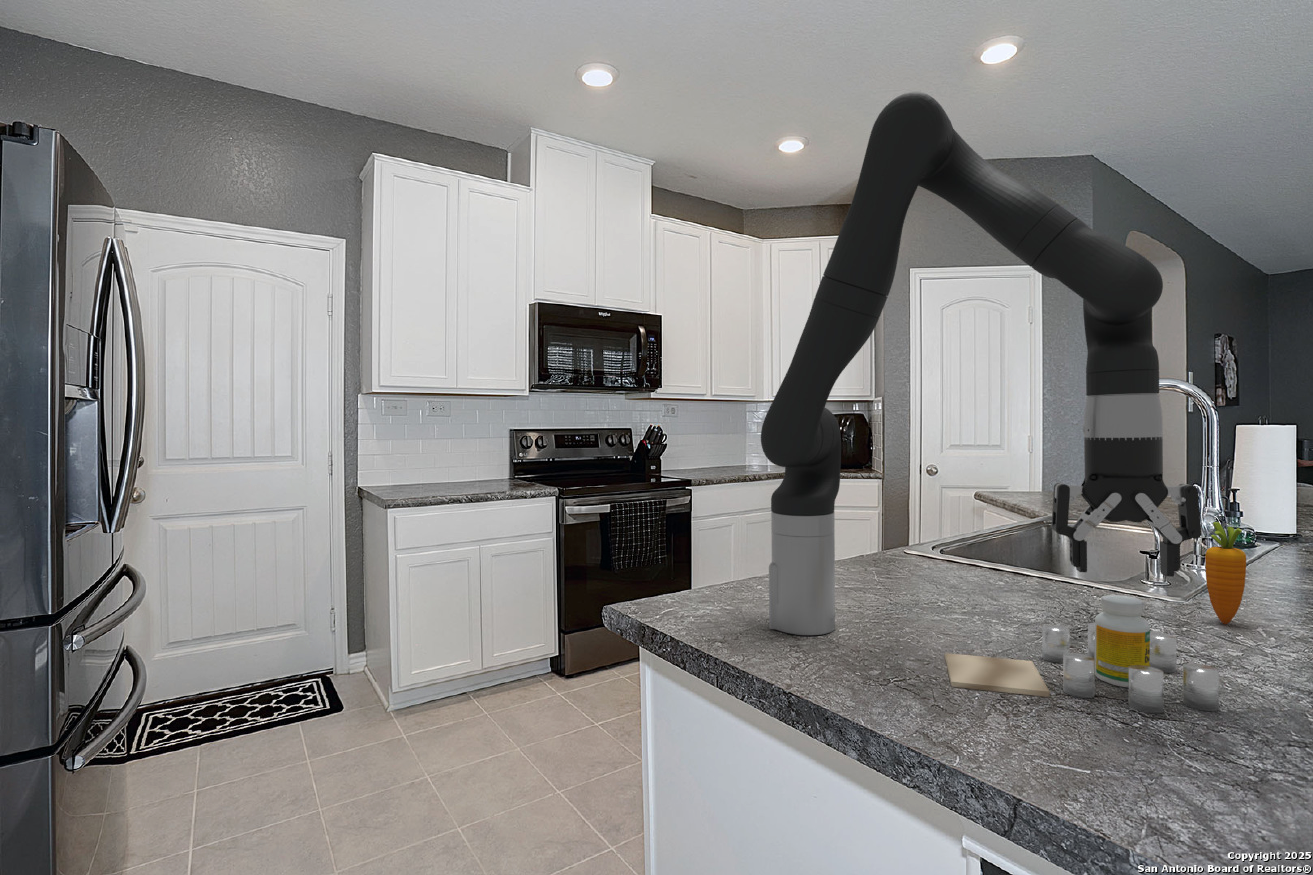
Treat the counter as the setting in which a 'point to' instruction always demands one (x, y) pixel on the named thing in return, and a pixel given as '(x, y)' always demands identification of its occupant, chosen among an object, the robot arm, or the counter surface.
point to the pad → (995, 674)
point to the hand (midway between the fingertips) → (1123, 573)
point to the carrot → (1225, 573)
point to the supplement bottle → (1120, 639)
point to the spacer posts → (1133, 671)
